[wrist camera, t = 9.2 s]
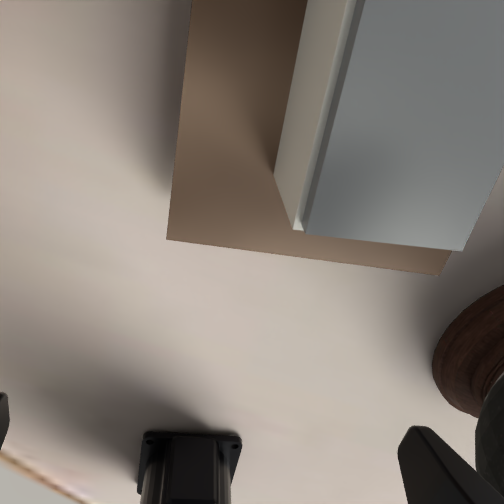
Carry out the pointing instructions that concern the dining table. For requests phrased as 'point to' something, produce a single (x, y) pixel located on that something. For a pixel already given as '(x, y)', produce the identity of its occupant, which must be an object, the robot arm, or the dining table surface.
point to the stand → (251, 141)
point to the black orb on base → (477, 378)
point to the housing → (394, 120)
